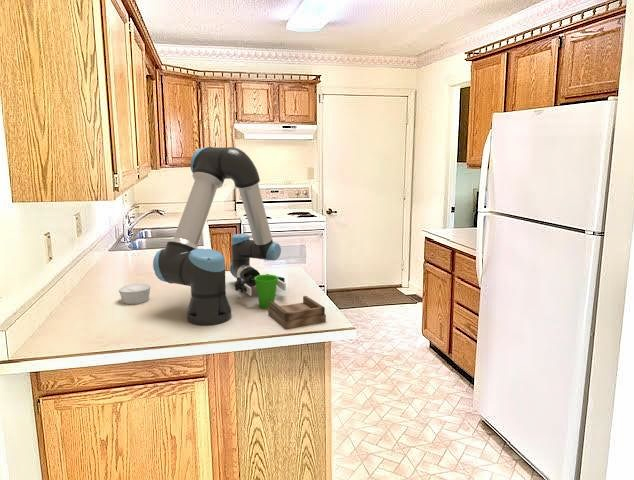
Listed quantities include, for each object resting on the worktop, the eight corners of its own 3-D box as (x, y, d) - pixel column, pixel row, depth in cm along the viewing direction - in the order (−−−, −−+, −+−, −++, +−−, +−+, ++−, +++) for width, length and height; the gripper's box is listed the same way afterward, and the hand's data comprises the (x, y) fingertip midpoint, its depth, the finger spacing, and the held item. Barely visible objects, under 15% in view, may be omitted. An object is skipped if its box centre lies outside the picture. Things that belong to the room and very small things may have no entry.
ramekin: (113, 304, 175) (112, 291, 174) (129, 295, 186) (128, 282, 185) (141, 306, 174) (141, 292, 173) (156, 297, 184) (155, 284, 183)
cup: (274, 310, 169) (274, 281, 167) (251, 309, 171) (250, 280, 169) (281, 303, 178) (281, 275, 176) (258, 301, 180) (258, 273, 177)
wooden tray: (285, 329, 152) (285, 314, 151) (268, 314, 165) (268, 301, 164) (325, 321, 159) (325, 307, 158) (306, 308, 172) (306, 295, 171)
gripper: (276, 280, 198) (298, 294, 180) (219, 288, 187) (235, 303, 168) (276, 263, 197) (298, 275, 178) (218, 270, 185) (235, 283, 167)
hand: (268, 289), depth 173 cm, fingers open, 13 cm apart
